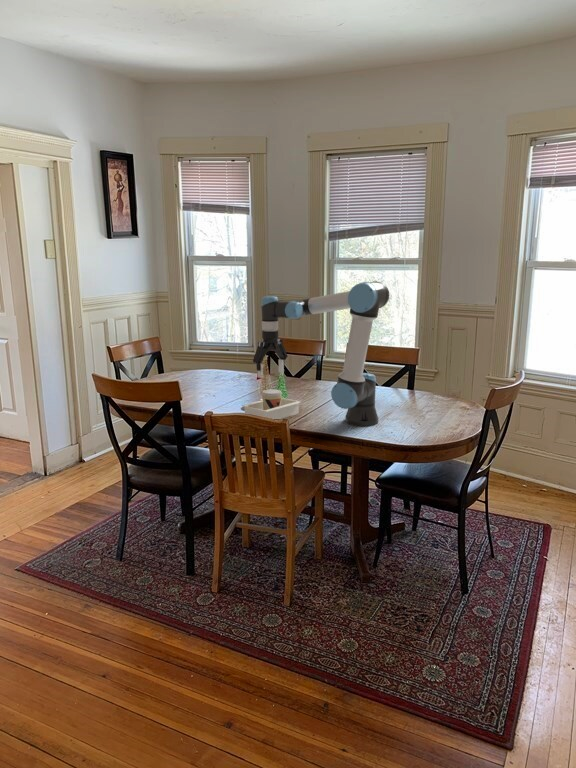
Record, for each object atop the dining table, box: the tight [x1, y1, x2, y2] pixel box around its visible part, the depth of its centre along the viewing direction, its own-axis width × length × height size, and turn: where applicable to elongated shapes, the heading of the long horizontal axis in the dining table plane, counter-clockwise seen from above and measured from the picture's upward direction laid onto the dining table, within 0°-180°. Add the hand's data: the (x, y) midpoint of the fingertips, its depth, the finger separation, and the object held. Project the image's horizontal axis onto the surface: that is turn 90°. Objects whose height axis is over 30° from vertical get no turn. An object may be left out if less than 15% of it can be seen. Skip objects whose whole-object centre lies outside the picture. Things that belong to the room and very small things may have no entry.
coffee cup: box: [261, 388, 283, 410], centre depth 270 cm, size 9×9×12 cm
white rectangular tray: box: [241, 397, 303, 420], centre depth 271 cm, size 23×17×6 cm
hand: (270, 375), depth 269 cm, fingers open, 13 cm apart
